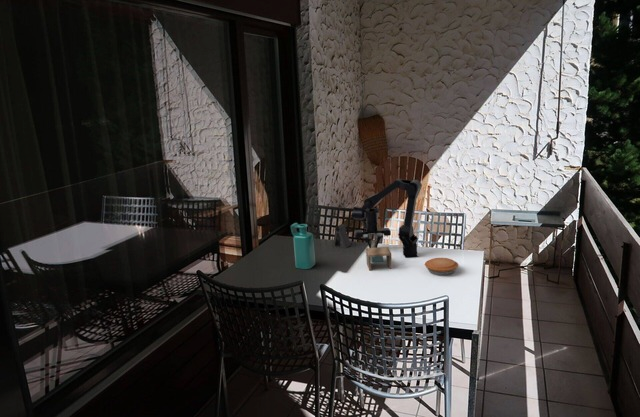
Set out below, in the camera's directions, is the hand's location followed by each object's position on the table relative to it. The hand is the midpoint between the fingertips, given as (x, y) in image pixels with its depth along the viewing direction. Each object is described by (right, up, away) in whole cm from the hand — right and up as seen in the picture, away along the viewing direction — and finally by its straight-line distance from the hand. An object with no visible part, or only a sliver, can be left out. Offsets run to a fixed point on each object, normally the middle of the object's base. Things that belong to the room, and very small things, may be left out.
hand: (373, 248), depth 277 cm
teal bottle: (-36, -8, -14) cm, 40 cm away
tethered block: (0, -4, -7) cm, 7 cm away
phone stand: (-16, 0, +14) cm, 21 cm away
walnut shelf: (+1, -7, -21) cm, 22 cm away
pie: (+29, -9, -32) cm, 44 cm away
